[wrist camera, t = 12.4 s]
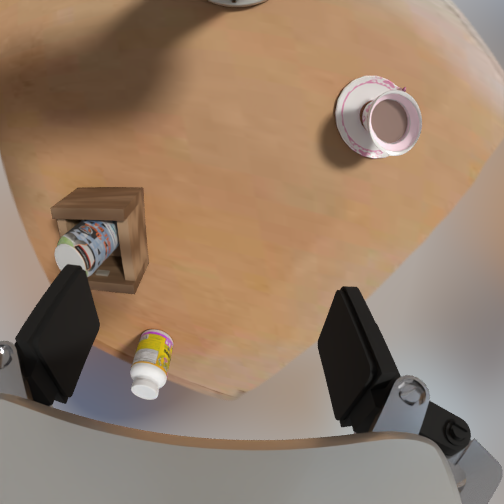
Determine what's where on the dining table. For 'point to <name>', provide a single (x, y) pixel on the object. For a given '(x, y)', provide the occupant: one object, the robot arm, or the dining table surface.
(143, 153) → the dining table surface
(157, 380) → the supplement bottle
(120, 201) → the holder
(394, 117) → the teacup
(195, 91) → the dining table surface
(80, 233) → the beverage can
